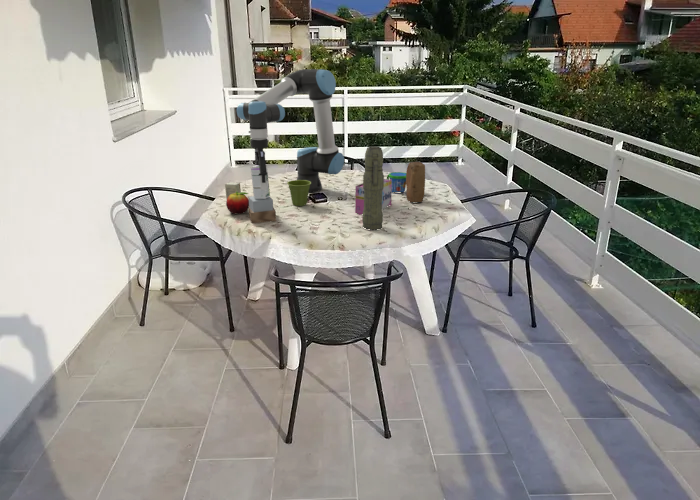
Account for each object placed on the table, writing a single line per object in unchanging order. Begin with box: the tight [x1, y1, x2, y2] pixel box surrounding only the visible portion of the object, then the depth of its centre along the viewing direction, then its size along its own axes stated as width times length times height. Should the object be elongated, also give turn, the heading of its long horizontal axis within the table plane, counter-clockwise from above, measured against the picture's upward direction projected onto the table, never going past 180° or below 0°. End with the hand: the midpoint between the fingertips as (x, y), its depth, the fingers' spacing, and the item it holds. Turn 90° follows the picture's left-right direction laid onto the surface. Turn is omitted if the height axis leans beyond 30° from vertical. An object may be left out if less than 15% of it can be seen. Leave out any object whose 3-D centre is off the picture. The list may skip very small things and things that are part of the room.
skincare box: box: [224, 181, 242, 200], centre depth 255 cm, size 6×4×12 cm
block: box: [405, 161, 426, 203], centre depth 267 cm, size 11×8×20 cm
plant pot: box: [286, 179, 311, 207], centre depth 261 cm, size 12×12×11 cm
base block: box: [247, 206, 277, 224], centre depth 240 cm, size 11×11×5 cm
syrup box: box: [250, 164, 271, 199], centre depth 235 cm, size 6×6×14 cm
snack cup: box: [386, 171, 407, 193], centre depth 286 cm, size 16×10×10 cm
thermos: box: [361, 145, 385, 231], centre depth 223 cm, size 9×12×35 cm
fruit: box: [225, 191, 249, 215], centre depth 247 cm, size 11×11×10 cm
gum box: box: [354, 178, 393, 215], centre depth 254 cm, size 24×8×14 cm, turn 148°
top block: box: [248, 195, 274, 212], centre depth 238 cm, size 9×9×5 cm
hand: (261, 186), depth 235 cm, fingers open, 13 cm apart
